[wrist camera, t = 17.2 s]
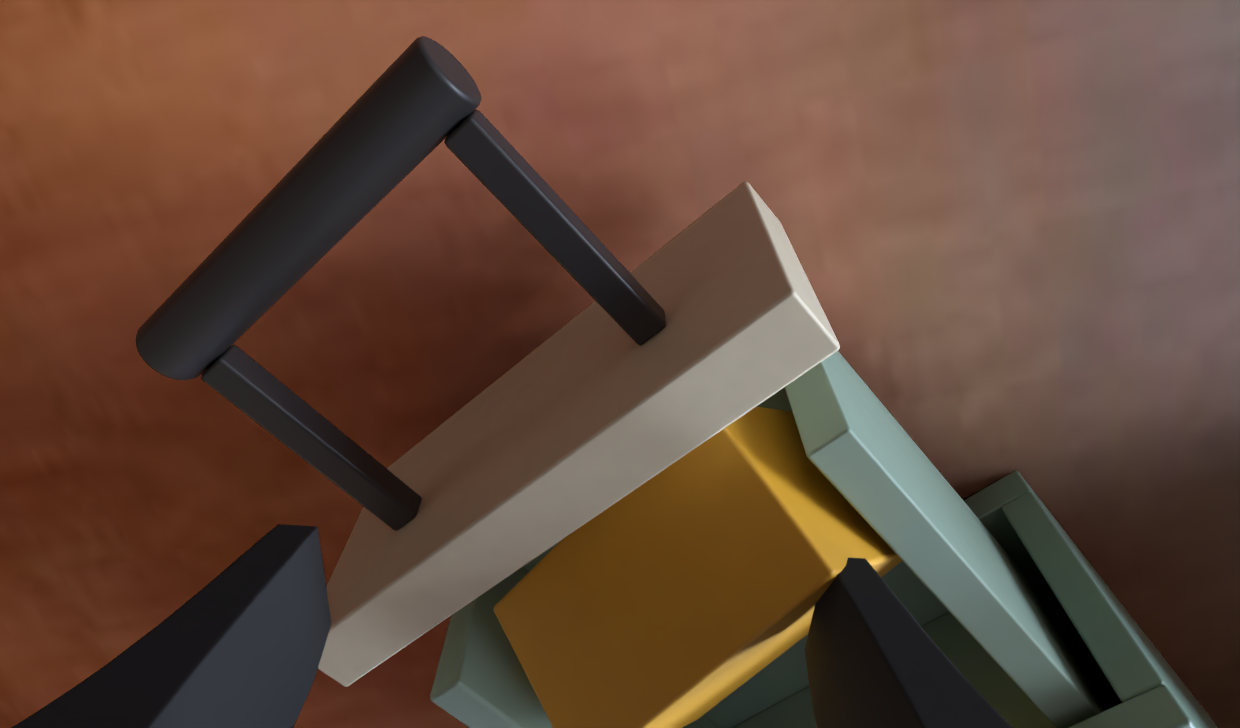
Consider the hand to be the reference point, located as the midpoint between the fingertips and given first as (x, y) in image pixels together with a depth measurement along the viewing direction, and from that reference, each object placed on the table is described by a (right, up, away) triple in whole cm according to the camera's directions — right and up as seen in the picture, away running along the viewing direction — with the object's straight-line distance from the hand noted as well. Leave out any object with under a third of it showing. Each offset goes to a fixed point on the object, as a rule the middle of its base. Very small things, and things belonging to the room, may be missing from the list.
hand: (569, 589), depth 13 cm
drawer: (+1, +2, +6) cm, 6 cm away
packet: (+3, -1, +4) cm, 5 cm away
